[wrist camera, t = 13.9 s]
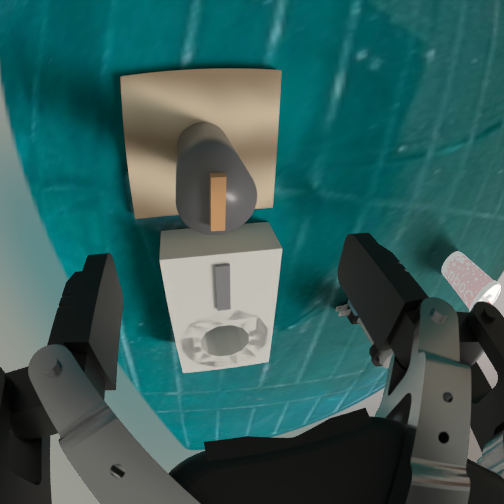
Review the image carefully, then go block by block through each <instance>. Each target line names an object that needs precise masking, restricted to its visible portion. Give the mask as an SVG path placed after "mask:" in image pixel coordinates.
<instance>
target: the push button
mask: <svg viewBox="0 0 504 504" xmlns="http://www.w3.org/2000/svg"><path fill="white" fill-rule="evenodd" d="M338 308H341V309H338ZM341 310H342V311H341ZM335 311H340V312H339V315H338V316H343V315H345V316H347V317H348V319H349V321H350V322H351V324H357V323H358V324H360V325H361V327H362V329H363V330H364V332H365V334H366V335H367V337H368V339H369V340H370V342H371V344H372V347H371V348H370V352H369V353H370V355H371V357H372V363H373V364H374V365H375V366H383V367H385V368H389V364H390V359H391V357H392V355H393V353H394V352H393V351H392V349H389V350H385V351H382V352H379V351H378V349H377V347H376V346H375V344H374V342H373V340H372V339H371V337H370V335H369V333H368V331H367V330H366V328H365V326H364V324H363V323H362V321H361V319H360V318H359V316H358V314H357V312H356V311H355V309H354V307H353V306H352V304H351V302H350V300H349V299H348V302H347V304H345V305H344V306H338V307H336V310H335ZM341 313H343V314H341Z"/></svg>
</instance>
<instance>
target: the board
mask: <svg viewBox="0 0 504 504" xmlns="http://www.w3.org/2000/svg"><path fill="white" fill-rule="evenodd" d="M281 73H282V70H273V69H248V68H212V69H187V70H173V71H161V72H151V73H142V74H134V75H127V76H121V77H120V78H121V99H122V114H123V126H124V137H125V147H126V156H127V165H128V173H129V181H130V188H131V195H132V202H133V208H134V214H135V219H141V218H150V217H160V216H171V215H179V214H178V212H177V208H176V157H177V142H178V139H179V137H180V135H181V133H182V132H183V131H184V130H185V129H186V128H187V127H189V126H191V125H193V124H195V123H199V122H208V123H212V124H214V125H216V126H218V127H219V128H221V129H222V130H223V132H224V133H225V135H226V136H227V138H228V139H229V141H230V143H231V144H232V146H233V148H234V149H235V151H236V152H237V154H238V156H239V157H240V159H241V161H242V162H243V164H244V165H245V167H246V169H247V170H248V172H249V174H250V175H251V177H252V179H253V181H254V183H255V185H256V189H257V202H256V206H255V209H259V208H273V197H274V183H275V169H276V154H277V139H278V123H279V107H280V90H281Z"/></svg>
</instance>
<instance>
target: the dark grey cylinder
mask: <svg viewBox="0 0 504 504" xmlns="http://www.w3.org/2000/svg"><path fill="white" fill-rule="evenodd" d="M256 202H257V189H256V185H255V183H254V181H253V179H252V177H251V175H250V174H249V172H248V170H247V169H246V167H245V165H244V164H243V162H242V161H241V159H240V157H239V156H238V154H237V152H236V151H235V149H234V148H233V146H232V144H231V143H230V141H229V139H228V138H227V136H226V135H225V133H224V132H223V130H222V129H221V128H219V127H218V126H216V125H214V124H212V123H208V122H199V123H195V124H193V125H191V126H189V127H187V128H186V129H185V130H184V131H183V132H182V133H181V135H180V137H179V139H178V142H177V157H176V208H177V212H178V214H179V216H180V218H181V219H182V221H183V222H184V223H185V224H186V225H187V226H188V227H190V228H191V229H192V230H194V231H196V232H199V233H202V234H206V235H222V234H226V233H229V232H232V231H234V230H236V229H238V228H239V227H241V226H242V225H243V224H244V223H245V222H246V221H247V220H248V219H249V218H250V216H251V215H252V213H253V211H254V209H255V206H256Z"/></svg>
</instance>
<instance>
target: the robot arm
mask: <svg viewBox="0 0 504 504" xmlns="http://www.w3.org/2000/svg"><path fill="white" fill-rule="evenodd" d="M338 280H339V283H340V285H341V287H342V289H343V290H344V292H345V294H346V295H347V297H348V299H349V300H350V302H351V304H352V306H353V307H354V309H355V311H356V312H357V314H358V316H359V318H360V319H361V321H362V323H363V324H364V326H365V328H366V330H367V331H368V333H369V335H370V337H371V339H372V340H373V342H374V344H375V346H376V347H377V349H378V351H379V352H382V351H385V350H389V349H392V351H393V352H394V353H393V355H392V357H391V359H390V364H389V369H388V374H387V379H386V384H385V389H384V393H383V398H382V401H381V404H380V407H379V408H378V410H377V412H376V414H375V416H374V417H369V415H368V413H367V411H366V408H363V409H360V410H357V411H353V412H351V413H347V414H343V415H340V416H337V417H333V418H330V419H328V420H326V421H325V422H323V423H321V424H319V425H318V426H315V427H314V428H312V429H310V430H308V431H306V432H304V433H302V434H300V435H298V436H296V437H293V438H269V437H250V436H246V437H239V438H232V439H225V440H217V441H208V442H204V445H205V451H203V452H200V453H198V454H196V455H193V456H192V457H189V458H187V459H186V460H184V461H183V462H181V463H180V464H178V465H177V466H176V467H175V468H173V469H172V470H171V471H170V472H169V473H167V472H166V471H165V470H164V469H163V468H162V467H161V466H160V465H159V464H158V463H157V462H156V461H155V460H154V459H153V458H152V457H151V456H150V455H149V453H147V451H146V450H145V449H144V448H143V447H142V446H141V445H140V444H139V442H138V441H137V440H136V439H135V438H134V437H133V436H132V434H131V433H130V432H129V431H128V430H127V428H126V427H125V426H124V425H123V424H122V422H121V421H120V420H119V419H118V418H117V417H116V415H115V414H114V413H113V411H112V410H111V409H110V408H109V406H108V405H107V404H106V403H105V401H104V394H105V390H116V376H117V361H118V348H119V337H120V328H121V319H122V310H123V296H122V290H121V286H120V283H119V279H118V276H117V272H116V269H115V265H114V261H113V258H112V255H111V254H110V253H106V254H95V255H88V257H87V259H86V262H85V265H84V268H83V271H79V272H75V273H74V274H73V275H72V276H71V278H70V279H69V280H68V281H67V282H66V285H65V288H64V291H63V294H62V298H61V300H60V303H59V308H58V310H57V313H56V316H55V319H54V323H53V326H52V330H51V334H50V338H49V341H48V345H47V346H45V347H43V348H41V349H40V350H38V351H37V352H36V353H35V354H34V356H33V357H32V359H31V360H30V363H29V366H28V367H25V368H22V369H18V370H15V371H12V372H9V373H5V372H4V371H3V370H2V368H1V367H0V504H52V502H51V485H50V435H53V434H56V433H59V435H60V439H59V444H60V446H61V448H62V450H63V452H64V453H65V455H66V456H67V458H68V460H69V461H70V462H71V464H72V465H73V467H74V468H75V470H76V471H77V473H78V474H79V476H80V477H81V478H82V480H83V481H84V483H85V484H86V485H87V487H88V488H89V489H90V491H91V492H92V493H93V495H94V496H95V497H96V498H97V500H98V501H99V502H100V504H504V317H503V316H502V315H501V313H500V312H499V311H498V310H497V309H496V308H495V307H494V306H493V305H491V304H490V303H487V302H484V301H479V302H477V303H475V305H474V306H473V308H472V310H471V311H470V313H467V312H456V311H455V310H454V308H453V307H452V306H451V305H450V304H449V303H447V302H446V301H444V300H442V299H440V298H435V297H430V298H429V297H428V296H427V295H426V293H425V292H424V291H423V290H422V288H421V287H420V286H419V284H418V283H417V282H416V281H415V280H414V278H413V277H412V276H411V275H410V273H409V272H407V271H406V268H405V267H404V266H403V265H402V264H400V261H399V260H398V259H397V258H396V257H395V255H394V254H393V253H392V252H390V251H389V250H387V249H386V248H384V247H383V246H381V245H379V244H378V243H377V241H376V240H375V239H374V238H373V237H372V236H371V235H370V234H369V233H357V234H348V235H347V237H346V239H345V243H344V247H343V251H342V255H341V258H340V262H339V266H338ZM483 352H485V353H486V355H487V357H488V358H489V360H490V361H491V363H492V365H493V366H494V368H495V370H496V371H497V374H498V382H497V384H496V386H495V387H494V388H493V389H492V388H491V386H490V384H489V383H488V381H487V379H486V377H485V376H484V374H483V372H482V370H481V369H480V367H479V366H478V364H477V362H476V361H477V360H478V359H479V357H480V356H481V355H482V354H483ZM470 426H471V429H472V431H473V433H474V435H475V437H476V440H477V442H478V444H479V446H480V449H481V451H482V457H480V458H479V459H478V461H477V463H475V462H473V461H471V460H469V459H467V455H468V446H469V434H470Z"/></svg>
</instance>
